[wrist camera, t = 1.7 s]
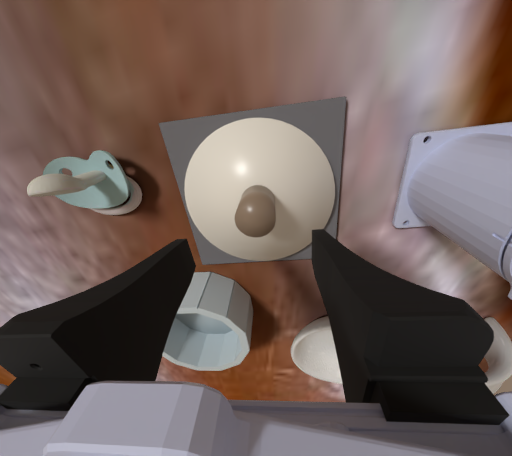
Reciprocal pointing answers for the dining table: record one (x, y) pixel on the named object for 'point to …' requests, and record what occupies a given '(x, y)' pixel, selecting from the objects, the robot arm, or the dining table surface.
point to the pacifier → (89, 184)
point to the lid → (259, 189)
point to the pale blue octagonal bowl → (211, 325)
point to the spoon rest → (327, 367)
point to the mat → (299, 115)
